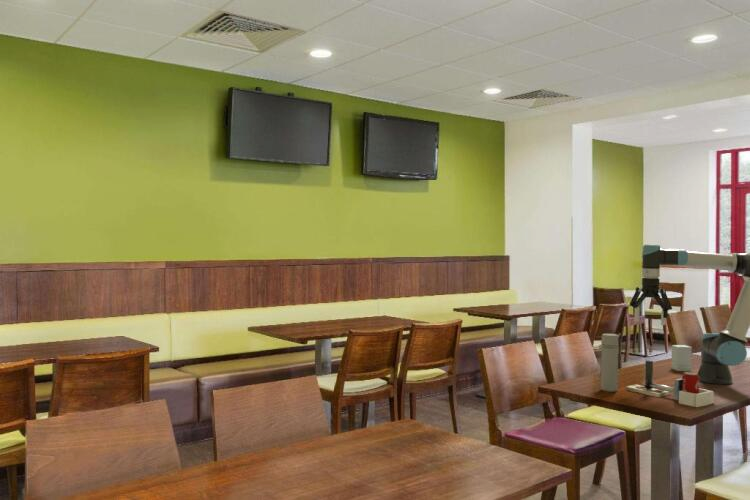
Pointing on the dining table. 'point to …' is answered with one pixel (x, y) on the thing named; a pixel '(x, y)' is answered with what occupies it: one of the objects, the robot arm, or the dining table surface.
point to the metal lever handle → (649, 384)
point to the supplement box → (681, 358)
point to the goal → (696, 398)
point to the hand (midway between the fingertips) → (649, 323)
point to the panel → (647, 390)
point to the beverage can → (690, 382)
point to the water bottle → (609, 362)
